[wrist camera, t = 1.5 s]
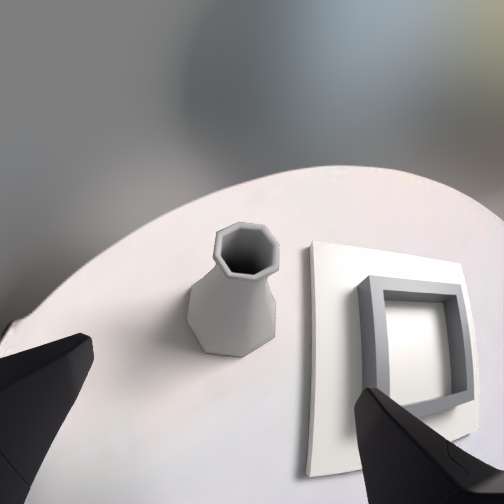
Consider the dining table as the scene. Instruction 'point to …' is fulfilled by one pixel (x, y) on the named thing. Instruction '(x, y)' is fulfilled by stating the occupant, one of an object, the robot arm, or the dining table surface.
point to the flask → (236, 292)
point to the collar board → (387, 346)
